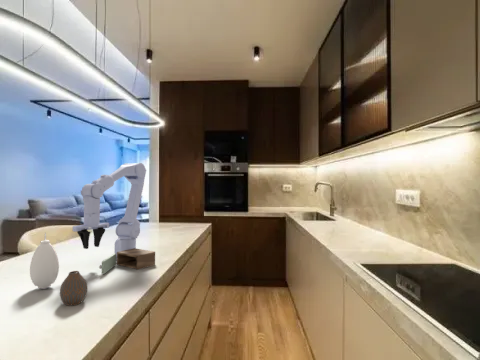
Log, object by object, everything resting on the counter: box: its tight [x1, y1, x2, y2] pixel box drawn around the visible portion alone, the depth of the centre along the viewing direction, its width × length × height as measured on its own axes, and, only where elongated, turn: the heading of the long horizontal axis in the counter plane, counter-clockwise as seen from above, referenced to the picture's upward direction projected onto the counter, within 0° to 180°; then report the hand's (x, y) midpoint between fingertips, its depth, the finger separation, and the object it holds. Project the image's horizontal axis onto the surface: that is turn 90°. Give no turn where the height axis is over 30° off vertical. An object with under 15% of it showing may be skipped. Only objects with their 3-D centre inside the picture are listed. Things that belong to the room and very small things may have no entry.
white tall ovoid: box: [29, 232, 60, 290], centre depth 99 cm, size 8×8×18 cm
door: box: [98, 253, 117, 275], centre depth 121 cm, size 14×2×5 cm, turn 4°
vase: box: [59, 270, 88, 306], centre depth 87 cm, size 7×7×9 cm
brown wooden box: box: [116, 247, 156, 271], centre depth 129 cm, size 13×9×6 cm
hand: (91, 247), depth 123 cm, fingers open, 4 cm apart
